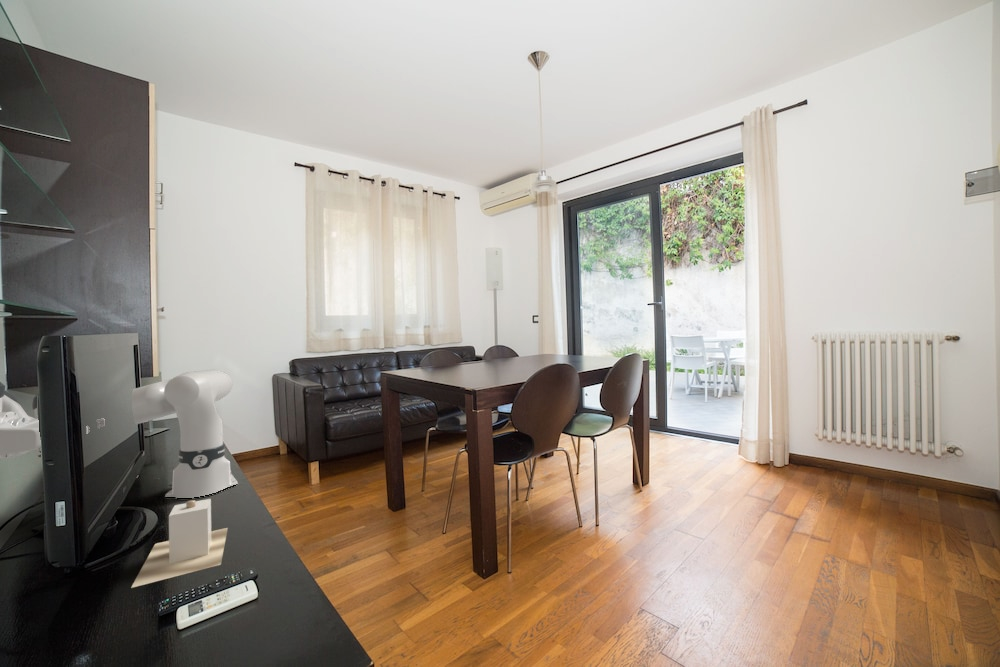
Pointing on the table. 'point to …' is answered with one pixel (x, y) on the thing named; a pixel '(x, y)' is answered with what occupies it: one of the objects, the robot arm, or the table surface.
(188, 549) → the tall white canister
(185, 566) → the mat
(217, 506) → the table surface
